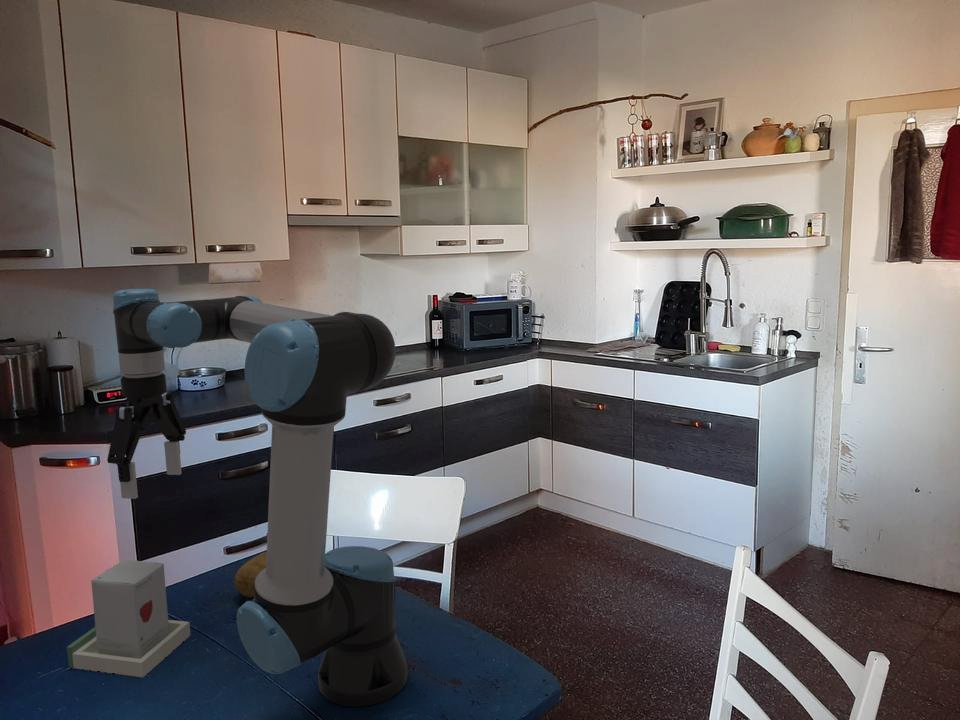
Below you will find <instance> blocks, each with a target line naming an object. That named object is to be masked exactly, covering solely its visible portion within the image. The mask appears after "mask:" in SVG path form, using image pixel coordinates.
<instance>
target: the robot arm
mask: <svg viewBox="0 0 960 720" xmlns="http://www.w3.org/2000/svg"><path fill="white" fill-rule="evenodd" d="M112 298H113V301H112V302H113V310H112V314H113V317H114V326H115V335H116V344H117V352H118V363H119V373H120V374H121V375H122V377H121V378H120V387H121V395H122V397H124V398H125V399H127V406H126V407H125V406H116V408H115V411H114V412H115V421H114V426H113V431H112V435H111V440H110V445H109V450H108V454H107V460H106V461H107V463H108V464H113V465H115V464H116V466H117V475H118V482H119V484H120V495H121V499H127V500H128V499H131V500H136V499H138V498H139V493H138V484H137V483H138V482H137V473H136V463H135V462H134V461H133V462H132V460H133V457H134V454H135V452H136V449H137V446H138V444H139V441H140V438H141V436H142V432H143V431H144V430H146V428H147V426H150V425H151V424H152V423H154V425H155V426H156V428H157V429H158V431H160V433H161V434H162V435H163V437H165V439H166V440H167V441H164V442H163V446H164V455H165V456H164V457H165V466H166V469H165V470H166V475H170V476H171V475H172V476H181V475H182V461H181V447H180V446H181V445H180V441H181V442H182V441H183V442H184V440H185V439H186V437H185V435H186V434H187V430H186V427H185V425H184V422H183V420H182V418H181V416H180V414H179V411H178V409H177V406H176V403H175V399H174V394H173V392H167V389H168V387H167V377H166V374H165V373H164V372H163V371H165V369H166V363H165V354H164V348H167V349H169V348H170V349H176V348H177V349H178V348H180V349H182V348H186V347H189V346H191V345H193V344H196V343H203V342H206V343H207V342H210V341H211V342H212V341H220V340H229V339H231V340H234V341H239V342H245V343H248V344H249V343H250V344H249V346H248V349H247V351H246V356H245V359H244V360H245V361H244V380H245V384H246V385H247V386H249V387H248V391H247V392H248V394H249V396H250V399H252V401H253V402H254V404H256V406H258V407H259V408H260V409H261V415H262V417H263V418H264V419H266V420H267V421H268V422H269V423H270V424H271V426H272V427H271V440H270V441H271V442H270V443H271V444H270V445H271V446H270V448H271V449H270V464H269V465H270V469H269V489H268V490H269V493H268V510H267V511H268V512H267V513H268V514H267V536H266V538H267V539H266V540H267V541H266V552H267V556H266V568H265V569H263V570H262V571H261V572H260V573H259V574H258V575H257V577H256V580H255V589H254V597H253V599H251V600H245V602H244V603H243V604H242V605H241V606H240V607H239V608H238V609H237V612H236V626H237V632H238V635H239V638H240V641H241V643H242V645H243V647H244V648H245V651H246V652H247V654H248V655H249V658H251V660H252V661H253V663H255V664H256V665H257V667H259V668H260V669H261V670H262V671H264V672H266V673H268V674H271V675H279V674H283V673H285V672H287V671H290V670H292V669H294V668H296V669H297V668H298V667H299V666H301V665H302V664H304V663H305V662H308V661H310V660H311V659H313V658H315V657H316V656H318V655H320V654H321V653H323V655H322V658H321V660H320V664H319V668H318V672H317V674H318V675H317V681H318V690H319V693H321V695H322V696H323V697H324V698H325V699H326V700H327V701H329V702H331V703H332V704H333V703H334V704H336V705H339V706H344V707H357V708H358V707H367V706H373V705H377V704H381V703H384V702H385V701H388V700H390V699H391V698H393V697H394V696H396V695H397V694H399V693H400V692H401V691H402V689H404V687H405V686H406V684H407V681H408V664H407V660H406V657H405V654H404V652H403V649H402V647H401V644H400V640H399V639H398V635H397V628H396V625H397V624H396V576H395V571H394V561H393V559H392V557H391V556H390V555H389V554H388V553H387V552H385V551H383V550H380V549H378V548H374V547H370V546H362V545H361V546H360V545H359V546H358V545H354V546H353V545H350V546H341V547H336V548H334V549H331V550H329V551H327V552H326V548H327V547H326V545H327V532H328V531H327V530H328V518H329V517H328V516H329V505H330V504H329V502H330V487H331V474H332V472H331V471H332V459H333V457H332V456H333V442H334V441H333V440H334V431H335V430H334V428H335V426H337V425H338V424H339V423H341V422H342V421H343V420H344V418H345V417H346V411H347V398H348V397H347V396H349V395H352V394H356V393H360V392H363V391H368V390H369V389H373V388H374V387H376V386H377V385H379V384H380V383H381V382H382V381H383V380H385V378H387V376H388V375H389V373H390V372H391V370H392V368H393V366H394V364H395V363H394V362H395V361H396V353H397V352H396V343H395V339H394V336H393V334H392V332H391V330H390V328H389V327H388V326H387V325H386V324H385V323H384V322H383V321H382V320H380V319H379V318H377V317H375V316H374V315H370V314H367V313H357V312H356V313H355V312H351V311H350V312H349V311H340V312H337V313H334V314H333V315H331V314H326V313H325V314H324V313H319V312H314V311H309V310H303V309H297V308H292V307H288V306H281V305H276V304H270V303H264V302H262V301H261V299H260V298H259V297H257V296H254V295H253V296H251V295H249V296H246V295H236V296H231V297H223V298H221V297H220V298H211V299H210V298H209V299H194V300H182V301H169V302H168V301H167V302H164V301H160V297H159V293H158V292H157V290H156V289H153V288H133V289H132V288H131V289H120V290H117V291H115V292H114V293H113V297H112Z"/></svg>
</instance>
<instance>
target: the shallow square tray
mask: <svg viewBox="0 0 960 720" xmlns="http://www.w3.org/2000/svg"><path fill="white" fill-rule="evenodd" d="M168 625H169V635H168V636H167V637H166V638H165V639H163V640H162V641H161V642H160V643H159V644H157V645H156V646H155V647H154V648H153V649H151V650H150V651H149V652H148V653H147V654H146V655H144V656H143V657H142V658H141V659H136V658H129V657H121V656H113V655H105V654H98V650H97V639H96V628H95V626H93V628H90V630H88V631H87V632H85V633H84V634H83V635H81V636H80V637H79V638H77V639H76V640H74V641H72V642H71V643H70V644H69V645H67V646H66V652H67V660H68V668H69V669H77V670H82V669H83V670H84V671H90V670H91V672H97V671H100V672H99V673H105V672H106V674H112V673H115V674H114V675H121V676H128V677H136V678H144V677H145V676H146V675H148V674H149V673H150V672H151V671H152V670H153V669H154V668H156V666H158V665H159V664H160V663H161V662H162V661H163V660H165V659H166V658H167V657H168V656H169V655H170V654H172V653H173V652H174V651H175V650H176V649H177V648H178V647H180V645H181V644H183V643H184V642H185V641H186V640H187V639H189V638H190V637H191V627H190V625H191V624H190V622H189V621H184V620H183V621H182V620H175V619H174V620H173V619H168ZM183 641H184V642H183ZM182 642H183V643H182ZM173 650H174V651H173ZM165 657H166V658H165ZM83 670H82V671H83ZM147 673H148V674H147Z"/></svg>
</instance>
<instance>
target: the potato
mask: <svg viewBox="0 0 960 720" xmlns="http://www.w3.org/2000/svg"><path fill="white" fill-rule="evenodd" d="M266 556H267V551H263V552H262V553H260V554H257V555H256V556H254V557H252V559H249V560H248V561H246V562H245V563H244V564H243V565H241V567H240V568H239V569H237V572H236V573H235V577H234V582H233V584H234V586H235V588H236V590H237V591H238V592H239V593H240V594H241V595H242V596H244V597H247V598H254V589H255V580H256V577H257V575H258V574H259V573H260V572H261V571H262V570H263V569H265V568H266Z"/></svg>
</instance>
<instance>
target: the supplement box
mask: <svg viewBox="0 0 960 720" xmlns="http://www.w3.org/2000/svg"><path fill="white" fill-rule="evenodd" d="M164 565H165V564H164V563H163V562H155V561H142V560H141V561H140V560H135V559H134V560H133V559H122V560H121V561H119V562H117V564H114V565H113V566H111V567H108V568H107V569H106V570H104V572H102V573H100V574H98V575H97V576H96V577H94V578H92V579H91V580H90V583H91V591H92V602H93V603H92V604H93V614H94V615H93V617H94V627H95V628H96V639H97V650H98V654H105V655H113V656H121V657H129V658H136V659H141V658H142V657H143V656H144V655H146V654H147V653H148V652H149V651H150V650H151V649H153V648H154V647H155V646H156V645H157V644H159V643H160V642H161V641H162V640H163V639H165V638H166V637H167V636H168V635H169V625H168V620H169V614H168V613H169V611H168V603H167V602H168V601H167V600H168V599H167V590H166V578H165V575H166V574H165V566H164Z"/></svg>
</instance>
